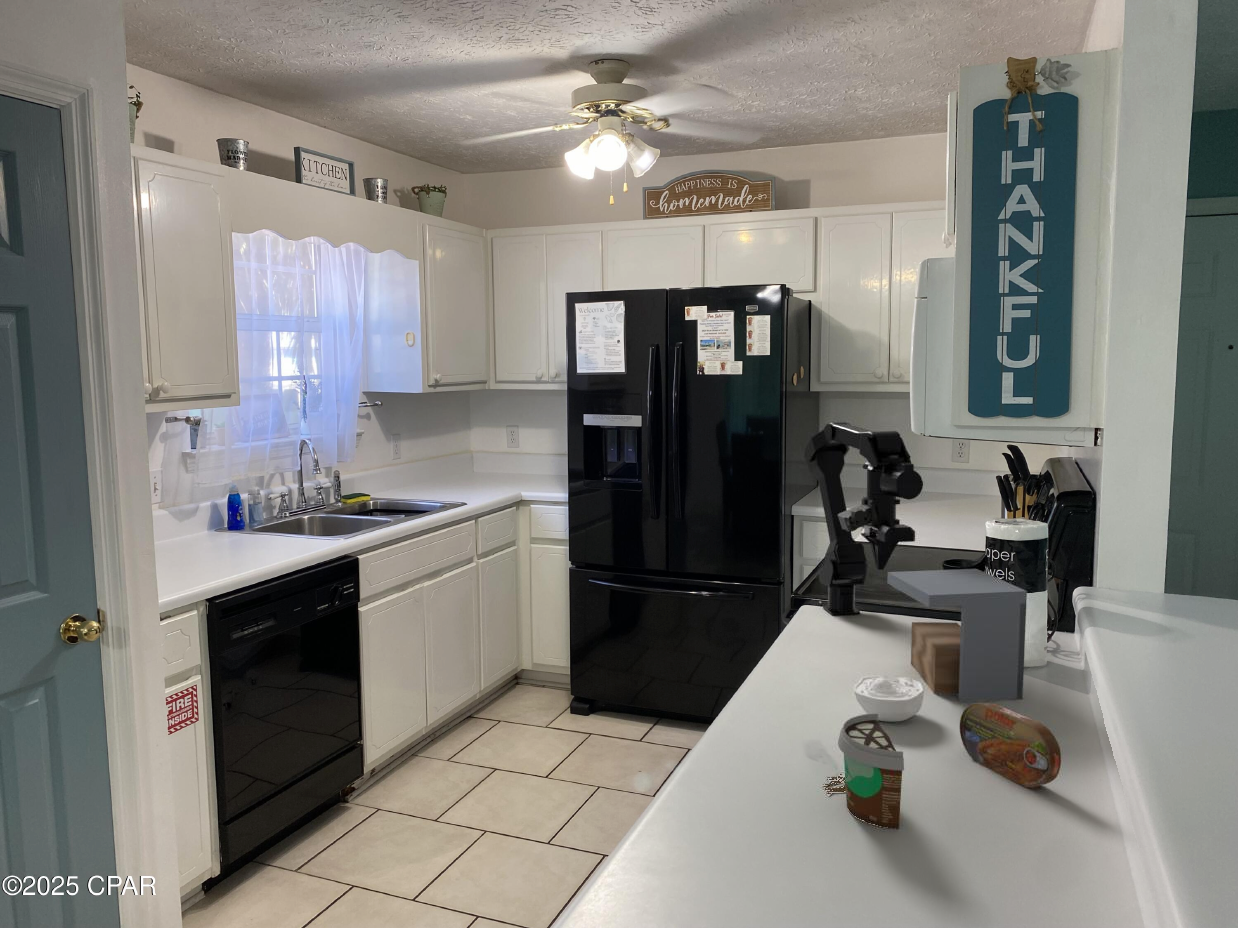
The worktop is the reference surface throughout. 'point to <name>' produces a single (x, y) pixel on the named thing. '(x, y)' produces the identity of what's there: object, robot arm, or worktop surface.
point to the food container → (871, 771)
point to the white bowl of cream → (889, 697)
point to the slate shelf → (978, 627)
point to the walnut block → (937, 655)
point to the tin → (1010, 744)
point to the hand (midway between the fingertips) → (880, 569)
